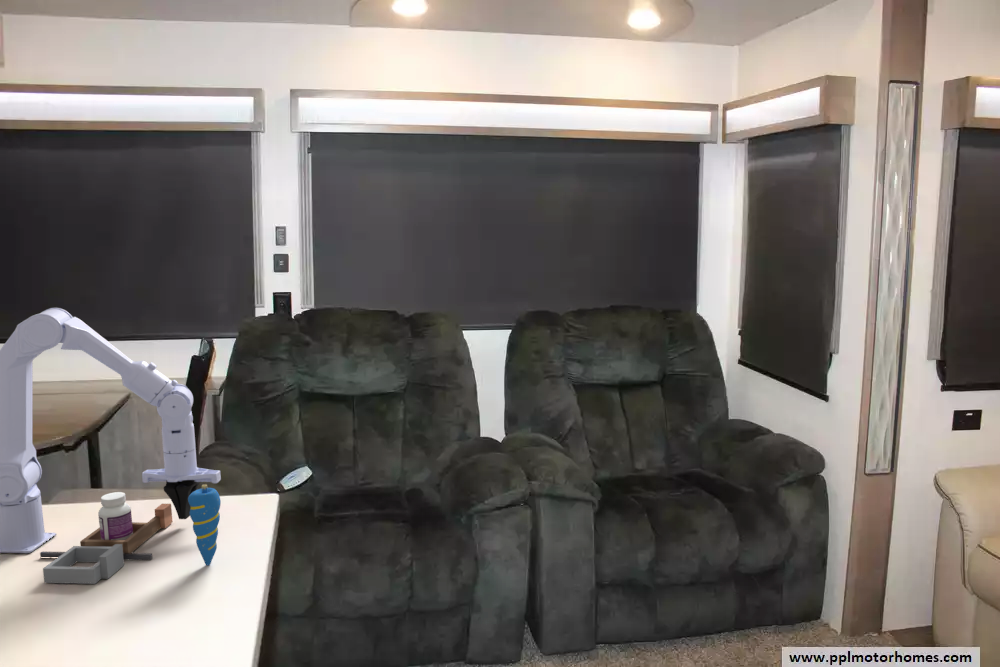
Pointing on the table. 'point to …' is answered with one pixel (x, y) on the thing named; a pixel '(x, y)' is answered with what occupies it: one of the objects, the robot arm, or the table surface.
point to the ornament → (205, 520)
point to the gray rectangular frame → (103, 569)
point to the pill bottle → (115, 517)
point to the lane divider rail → (125, 555)
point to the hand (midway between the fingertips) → (184, 517)
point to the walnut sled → (134, 531)
